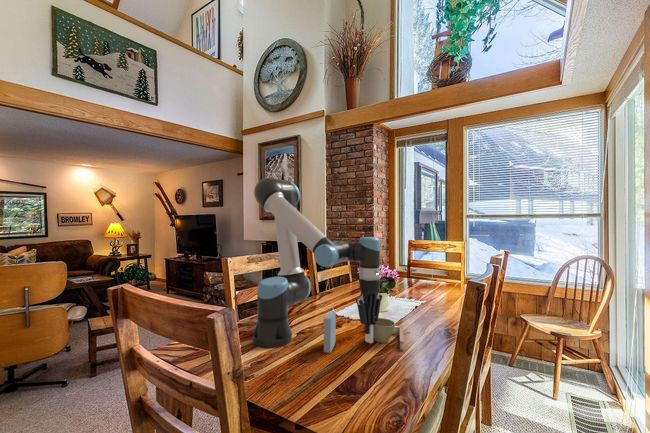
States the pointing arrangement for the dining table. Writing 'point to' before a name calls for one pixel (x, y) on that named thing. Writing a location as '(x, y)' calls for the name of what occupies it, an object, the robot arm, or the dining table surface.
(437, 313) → the dining table surface
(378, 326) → the flower pot
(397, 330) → the l-shaped bracket
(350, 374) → the dining table surface
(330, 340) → the pale blue rectangular prism
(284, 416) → the dining table surface
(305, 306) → the dining table surface
